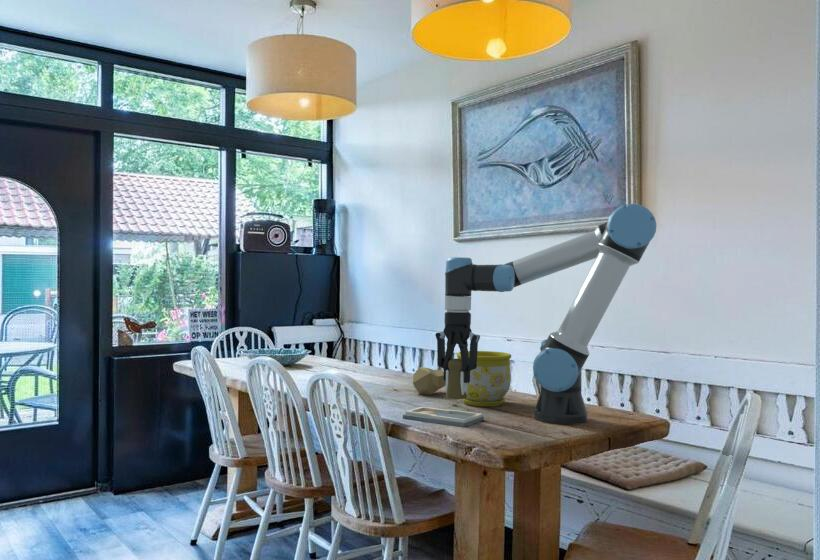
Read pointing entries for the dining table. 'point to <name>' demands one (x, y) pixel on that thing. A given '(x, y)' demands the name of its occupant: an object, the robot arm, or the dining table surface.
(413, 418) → the grey shallow tray
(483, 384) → the flowerpot
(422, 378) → the low-poly potato
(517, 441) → the dining table surface
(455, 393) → the cork
